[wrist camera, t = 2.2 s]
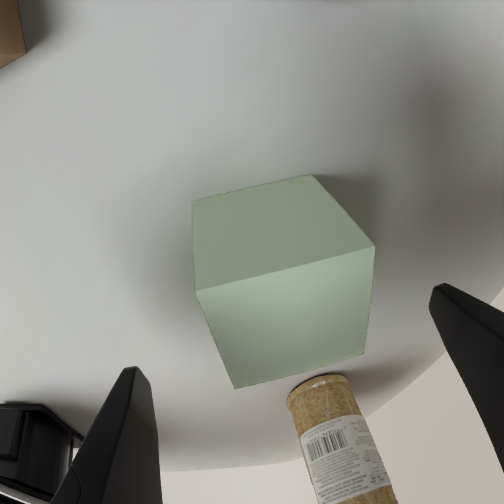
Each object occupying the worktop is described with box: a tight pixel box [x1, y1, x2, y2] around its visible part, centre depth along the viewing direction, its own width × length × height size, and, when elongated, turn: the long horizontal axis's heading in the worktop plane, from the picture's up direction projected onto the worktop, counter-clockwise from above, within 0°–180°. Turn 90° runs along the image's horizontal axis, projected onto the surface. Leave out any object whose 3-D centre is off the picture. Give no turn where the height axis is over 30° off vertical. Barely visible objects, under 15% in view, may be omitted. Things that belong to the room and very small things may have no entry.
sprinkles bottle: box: [287, 375, 398, 504], centre depth 15 cm, size 5×5×14 cm
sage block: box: [192, 174, 375, 389], centre depth 11 cm, size 4×4×5 cm
